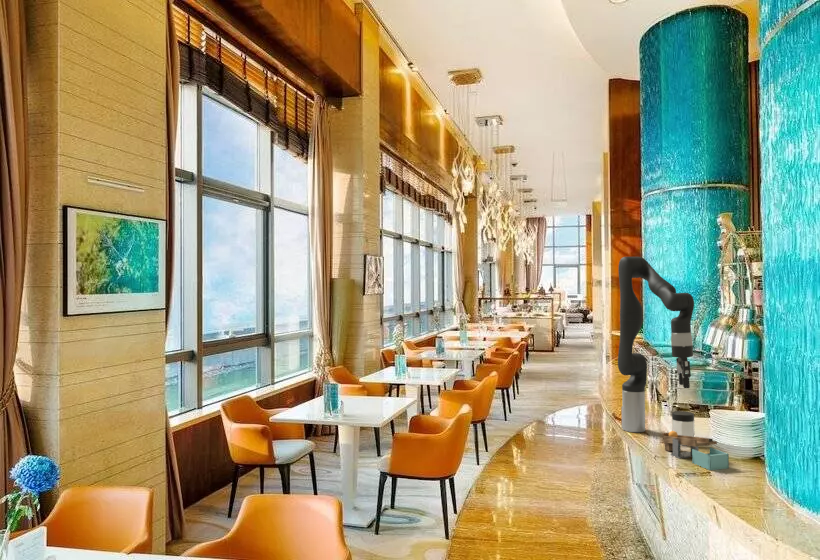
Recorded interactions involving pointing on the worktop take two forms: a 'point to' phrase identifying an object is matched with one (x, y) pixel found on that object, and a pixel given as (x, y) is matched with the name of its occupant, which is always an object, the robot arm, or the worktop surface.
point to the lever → (686, 441)
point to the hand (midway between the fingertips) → (684, 386)
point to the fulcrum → (677, 450)
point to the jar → (683, 423)
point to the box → (711, 459)
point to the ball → (673, 434)
